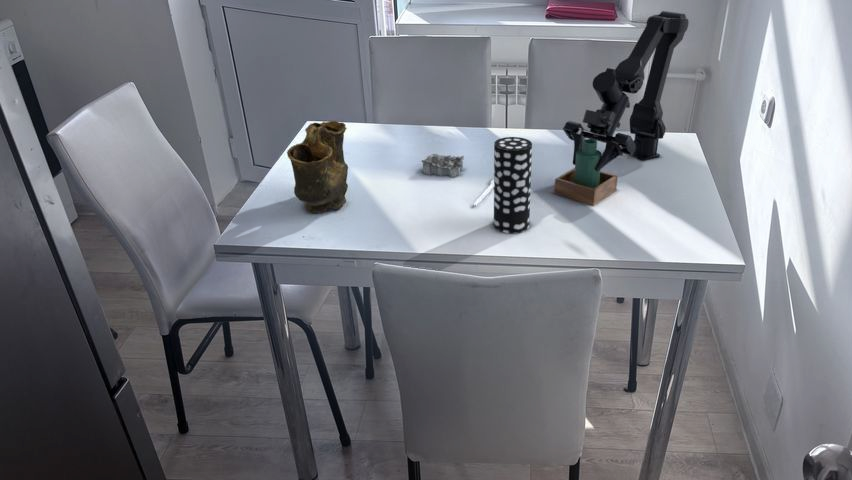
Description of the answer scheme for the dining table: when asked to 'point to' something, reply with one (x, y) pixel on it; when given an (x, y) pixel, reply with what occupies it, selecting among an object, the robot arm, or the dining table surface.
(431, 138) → the dining table surface
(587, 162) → the bottle
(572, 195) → the crate
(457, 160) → the egg carton
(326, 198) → the pottery vessel
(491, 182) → the fork
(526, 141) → the spotted tube
